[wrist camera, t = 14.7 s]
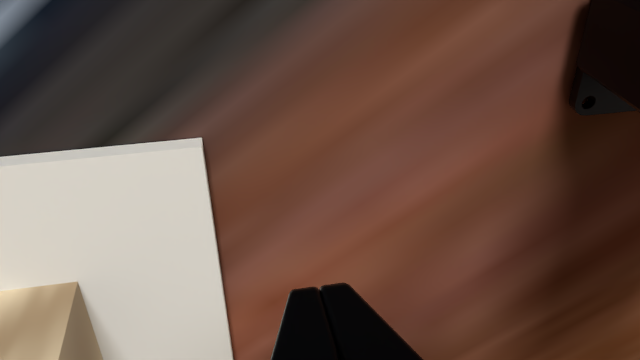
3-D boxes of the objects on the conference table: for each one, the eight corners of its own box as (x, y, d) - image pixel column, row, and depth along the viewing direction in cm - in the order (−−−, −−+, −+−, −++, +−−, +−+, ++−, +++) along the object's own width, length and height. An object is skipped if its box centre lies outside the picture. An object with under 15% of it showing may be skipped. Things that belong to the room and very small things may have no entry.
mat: (202, 137, 19) (202, 146, 18) (243, 431, 28) (244, 442, 27) (-283, 183, 17) (-298, 195, 17) (-73, 483, 26) (-78, 496, 25)
